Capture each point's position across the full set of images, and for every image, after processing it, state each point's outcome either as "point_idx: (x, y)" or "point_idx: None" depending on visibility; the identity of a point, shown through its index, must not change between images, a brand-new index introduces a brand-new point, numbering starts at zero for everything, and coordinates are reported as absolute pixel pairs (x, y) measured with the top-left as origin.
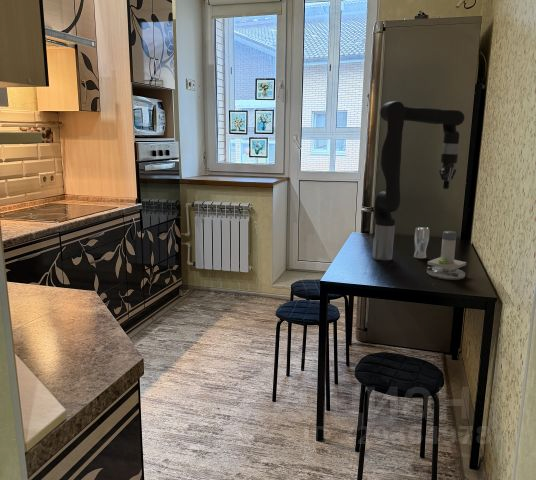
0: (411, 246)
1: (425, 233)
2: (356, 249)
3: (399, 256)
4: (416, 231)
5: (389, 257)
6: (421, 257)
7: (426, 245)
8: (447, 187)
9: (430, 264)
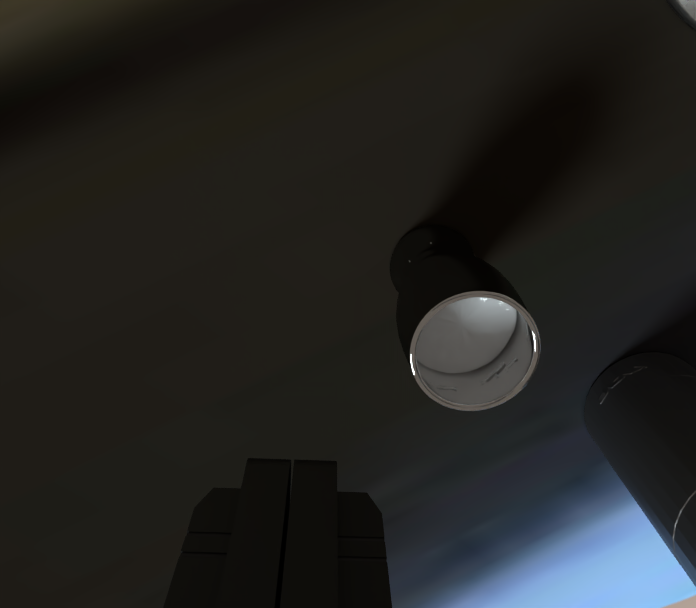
0: (185, 445)
1: (510, 288)
2: (543, 599)
3: None
4: (521, 369)
5: (676, 361)
6: (466, 240)
7: (453, 250)
8: (335, 477)
9: None
